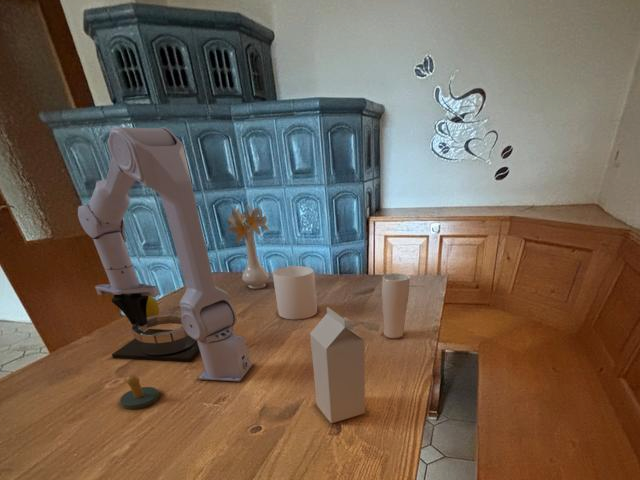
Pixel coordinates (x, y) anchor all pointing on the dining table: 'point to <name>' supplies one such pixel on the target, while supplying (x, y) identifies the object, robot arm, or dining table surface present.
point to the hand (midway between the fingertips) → (140, 324)
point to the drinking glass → (394, 303)
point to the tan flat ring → (161, 336)
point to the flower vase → (250, 243)
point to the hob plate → (160, 349)
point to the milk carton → (338, 367)
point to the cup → (295, 292)
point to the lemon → (152, 307)
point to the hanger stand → (138, 395)
